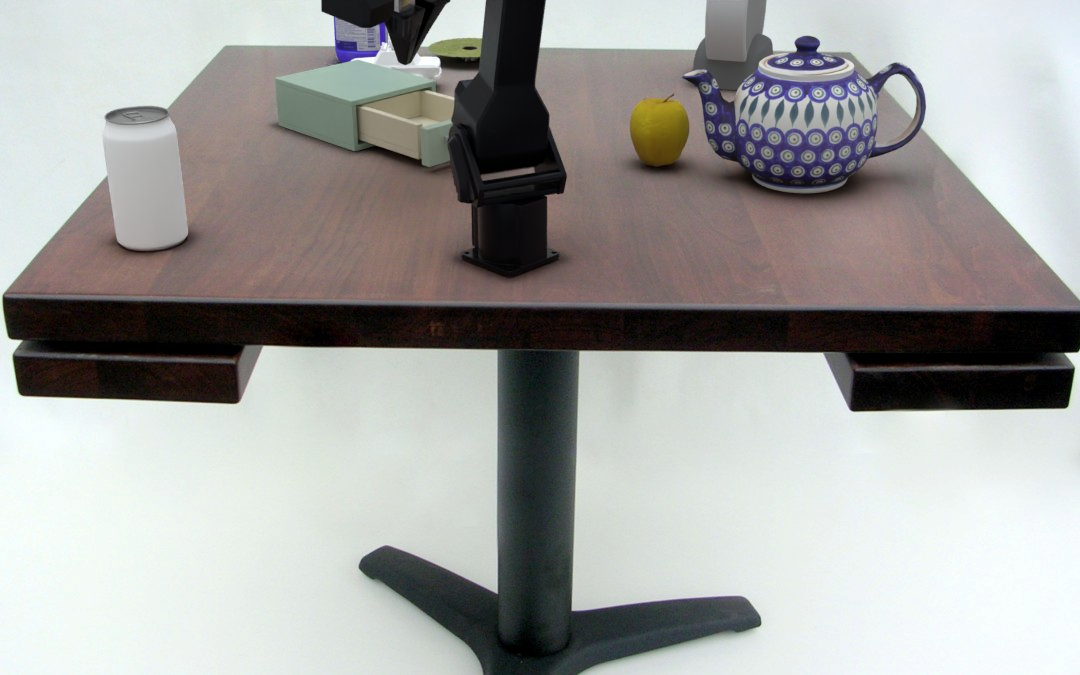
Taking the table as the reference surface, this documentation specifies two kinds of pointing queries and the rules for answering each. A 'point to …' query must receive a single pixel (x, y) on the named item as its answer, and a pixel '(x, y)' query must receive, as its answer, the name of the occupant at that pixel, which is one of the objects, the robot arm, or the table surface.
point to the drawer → (409, 125)
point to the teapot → (802, 118)
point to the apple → (659, 130)
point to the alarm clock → (733, 41)
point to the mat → (458, 48)
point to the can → (144, 178)
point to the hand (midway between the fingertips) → (404, 63)
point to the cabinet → (339, 98)
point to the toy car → (418, 66)
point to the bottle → (358, 40)
